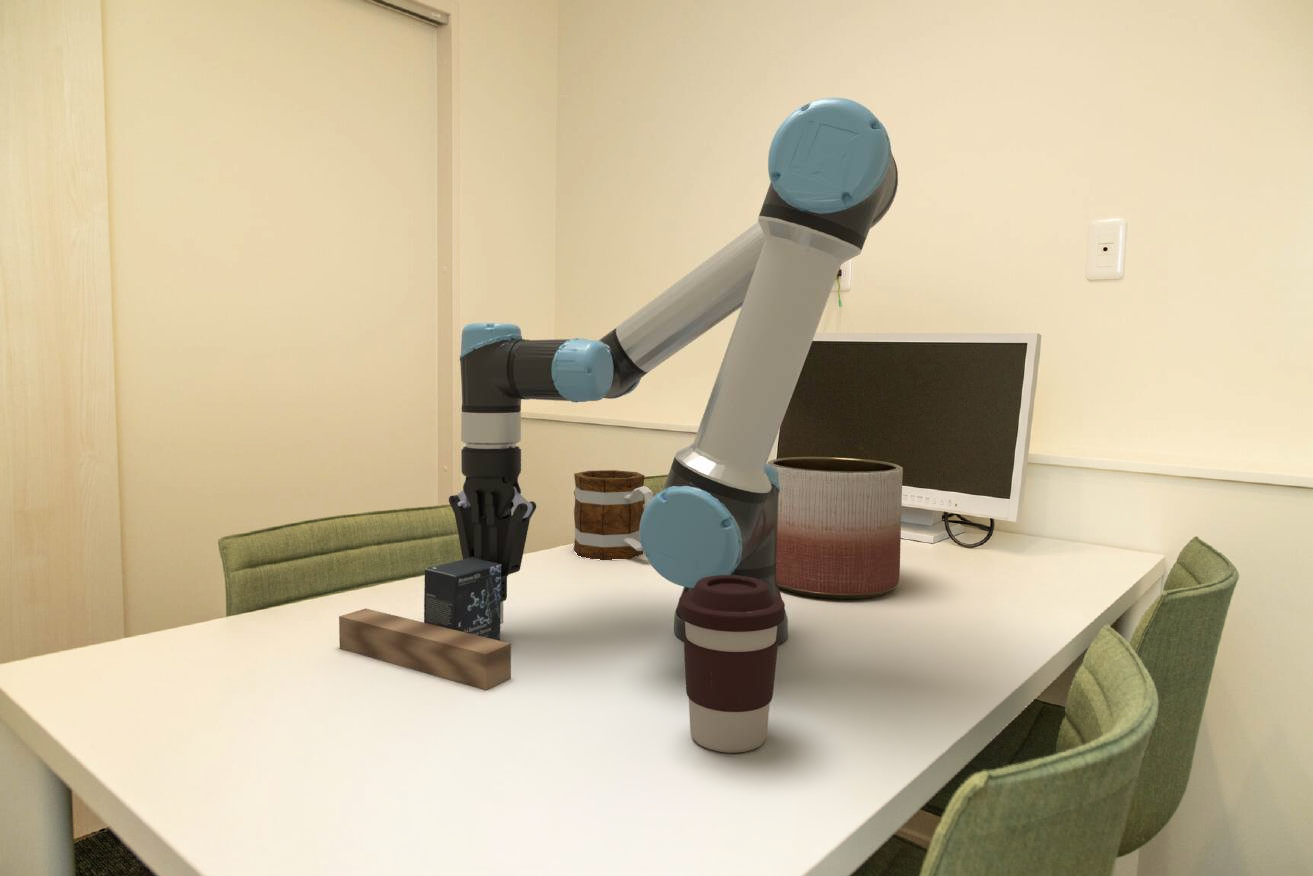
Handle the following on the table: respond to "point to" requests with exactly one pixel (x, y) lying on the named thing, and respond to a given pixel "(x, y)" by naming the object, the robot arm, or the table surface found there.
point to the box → (464, 597)
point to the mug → (609, 513)
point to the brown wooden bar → (426, 648)
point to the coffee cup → (730, 660)
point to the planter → (838, 526)
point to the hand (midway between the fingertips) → (492, 624)
